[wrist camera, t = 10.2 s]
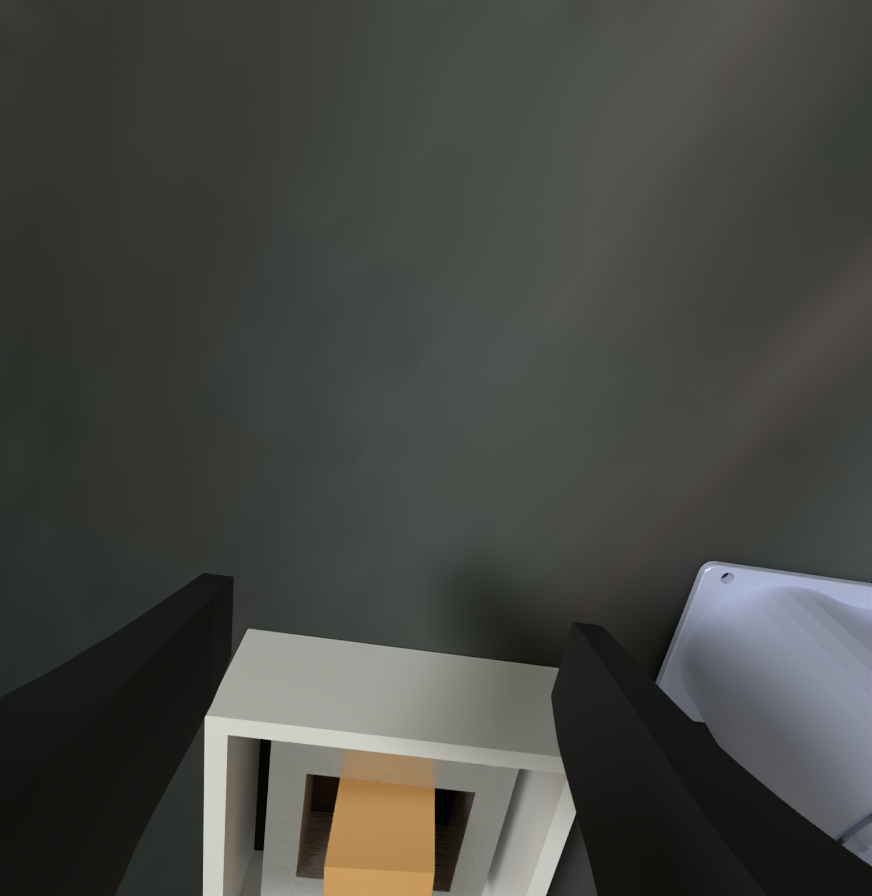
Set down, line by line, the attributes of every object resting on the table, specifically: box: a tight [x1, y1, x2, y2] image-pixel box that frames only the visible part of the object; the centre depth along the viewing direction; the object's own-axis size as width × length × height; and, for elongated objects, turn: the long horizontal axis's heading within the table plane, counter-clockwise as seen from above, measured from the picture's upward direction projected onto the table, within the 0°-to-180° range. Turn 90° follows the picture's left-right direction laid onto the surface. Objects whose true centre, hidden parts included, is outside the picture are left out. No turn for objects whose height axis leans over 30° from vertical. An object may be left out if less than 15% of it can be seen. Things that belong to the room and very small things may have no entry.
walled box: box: [203, 629, 576, 896], centre depth 23 cm, size 14×15×4 cm
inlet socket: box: [261, 740, 519, 896], centre depth 24 cm, size 10×10×3 cm
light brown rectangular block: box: [323, 777, 435, 896], centre depth 23 cm, size 4×5×6 cm
